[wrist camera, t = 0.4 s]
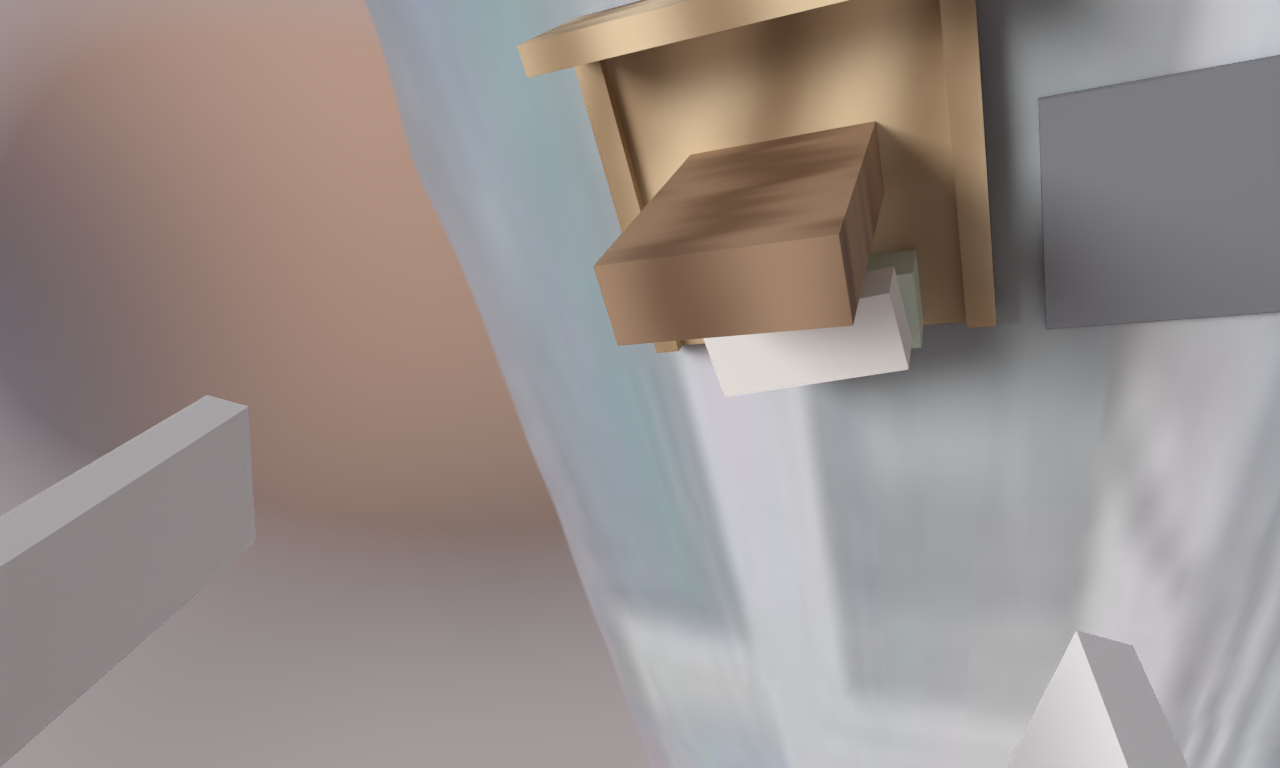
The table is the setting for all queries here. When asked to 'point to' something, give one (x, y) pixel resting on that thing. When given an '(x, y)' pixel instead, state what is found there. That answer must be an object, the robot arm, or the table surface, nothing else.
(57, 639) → the robot arm
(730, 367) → the offcut upper
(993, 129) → the table surface
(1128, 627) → the table surface
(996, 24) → the table surface
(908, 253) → the offcut lower
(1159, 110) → the rubber mat
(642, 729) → the table surface
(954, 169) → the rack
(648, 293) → the walnut board
